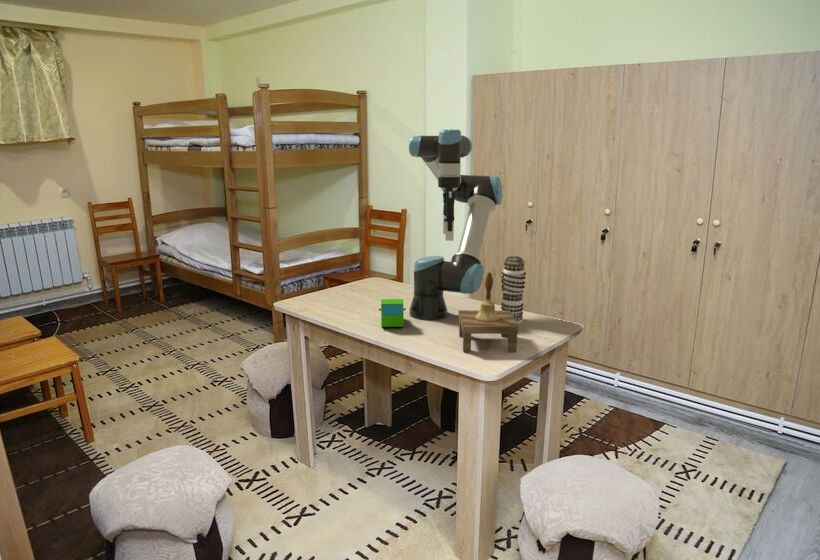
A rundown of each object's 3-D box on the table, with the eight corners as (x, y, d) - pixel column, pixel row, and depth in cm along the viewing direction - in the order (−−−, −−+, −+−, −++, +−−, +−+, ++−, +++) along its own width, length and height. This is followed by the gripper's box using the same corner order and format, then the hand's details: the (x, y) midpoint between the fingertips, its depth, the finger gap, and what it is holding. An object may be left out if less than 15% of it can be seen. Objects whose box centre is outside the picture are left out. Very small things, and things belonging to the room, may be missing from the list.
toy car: (405, 318, 222) (405, 293, 219) (406, 329, 209) (406, 303, 207) (379, 318, 222) (379, 294, 219) (378, 329, 209) (378, 303, 206)
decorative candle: (522, 325, 214) (525, 260, 208) (497, 323, 216) (500, 259, 210) (524, 318, 222) (528, 255, 216) (501, 316, 225) (503, 254, 219)
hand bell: (501, 316, 195) (503, 271, 191) (496, 323, 188) (498, 276, 184) (478, 313, 198) (479, 269, 194) (472, 320, 190) (473, 274, 187)
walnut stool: (458, 334, 204) (458, 310, 202) (508, 334, 204) (509, 310, 202) (462, 352, 186) (463, 326, 184) (517, 352, 186) (518, 326, 184)
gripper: (436, 173, 206) (435, 231, 211) (440, 178, 182) (439, 243, 187) (457, 173, 206) (455, 231, 211) (463, 178, 182) (461, 243, 187)
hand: (448, 237), depth 199 cm, fingers open, 13 cm apart
